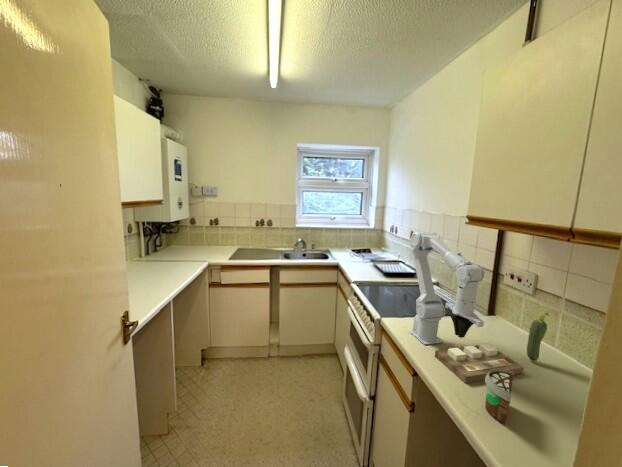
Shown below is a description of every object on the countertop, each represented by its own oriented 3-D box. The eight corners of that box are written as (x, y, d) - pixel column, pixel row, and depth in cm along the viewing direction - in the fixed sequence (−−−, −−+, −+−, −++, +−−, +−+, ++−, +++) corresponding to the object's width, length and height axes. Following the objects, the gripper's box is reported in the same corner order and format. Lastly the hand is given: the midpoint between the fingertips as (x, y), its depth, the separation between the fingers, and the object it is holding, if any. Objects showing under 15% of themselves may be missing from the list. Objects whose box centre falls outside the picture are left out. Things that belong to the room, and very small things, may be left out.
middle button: (463, 352, 99) (464, 346, 99) (472, 351, 100) (473, 345, 100) (472, 359, 96) (473, 353, 95) (481, 358, 97) (482, 352, 96)
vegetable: (521, 358, 101) (531, 308, 98) (528, 356, 103) (539, 306, 100) (534, 365, 97) (545, 313, 94) (542, 363, 99) (553, 312, 95)
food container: (483, 391, 83) (489, 361, 82) (508, 401, 80) (514, 371, 78) (477, 415, 74) (483, 383, 72) (504, 429, 70) (511, 395, 68)
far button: (478, 350, 101) (479, 344, 101) (487, 349, 102) (488, 343, 102) (487, 357, 97) (489, 351, 97) (496, 356, 98) (497, 350, 98)
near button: (447, 354, 98) (448, 348, 97) (456, 353, 99) (457, 347, 98) (455, 361, 94) (456, 355, 93) (465, 360, 95) (466, 354, 94)
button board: (434, 356, 99) (435, 349, 99) (486, 349, 106) (487, 343, 105) (465, 383, 86) (466, 375, 86) (522, 373, 92) (523, 366, 92)
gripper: (440, 291, 98) (435, 326, 101) (473, 309, 84) (467, 349, 87) (456, 290, 100) (451, 324, 102) (491, 307, 86) (484, 346, 89)
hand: (459, 335), depth 95 cm, fingers closed
